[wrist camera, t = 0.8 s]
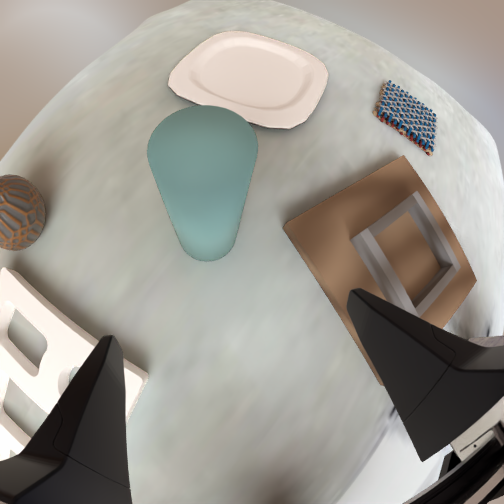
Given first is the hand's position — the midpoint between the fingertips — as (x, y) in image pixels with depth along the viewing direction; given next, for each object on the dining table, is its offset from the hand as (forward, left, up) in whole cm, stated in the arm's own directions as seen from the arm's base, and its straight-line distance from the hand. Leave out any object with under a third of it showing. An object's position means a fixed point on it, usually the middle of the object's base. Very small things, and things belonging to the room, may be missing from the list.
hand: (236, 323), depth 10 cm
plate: (+23, -18, -14) cm, 32 cm away
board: (-5, -18, -13) cm, 23 cm away
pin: (+7, -3, -13) cm, 15 cm away
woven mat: (+9, -36, -14) cm, 39 cm away
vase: (+18, +13, -14) cm, 26 cm away
